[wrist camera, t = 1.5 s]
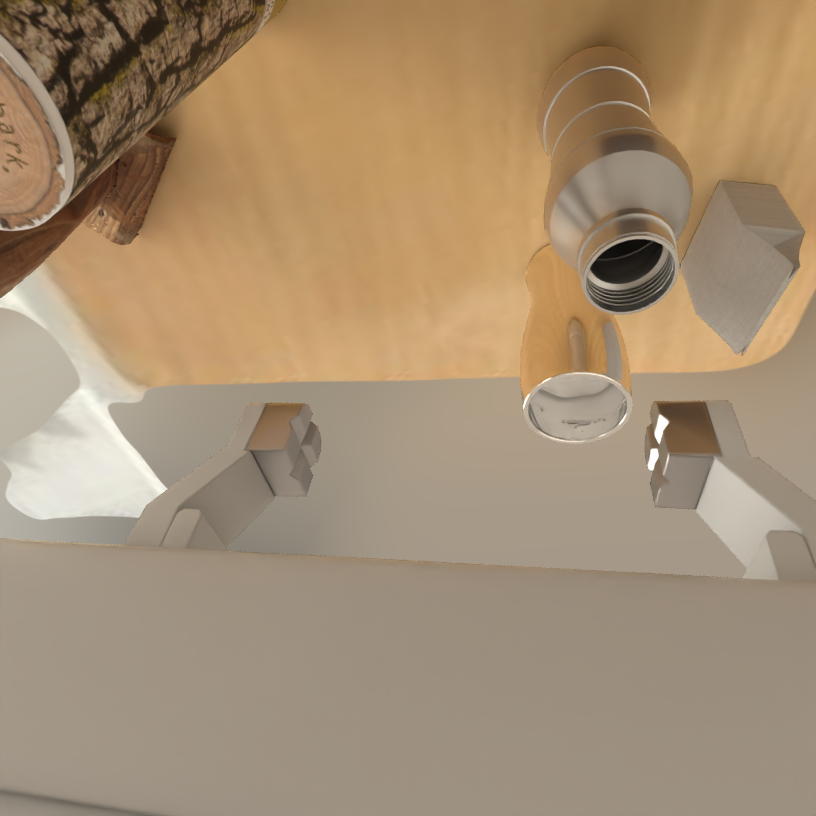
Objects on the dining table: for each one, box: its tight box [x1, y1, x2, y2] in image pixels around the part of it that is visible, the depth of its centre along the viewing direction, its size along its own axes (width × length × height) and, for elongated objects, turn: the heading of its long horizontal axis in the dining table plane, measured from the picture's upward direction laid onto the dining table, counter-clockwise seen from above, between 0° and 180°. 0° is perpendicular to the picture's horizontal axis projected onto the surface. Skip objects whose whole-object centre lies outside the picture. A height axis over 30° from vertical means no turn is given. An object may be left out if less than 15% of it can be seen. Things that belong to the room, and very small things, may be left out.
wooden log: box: [0, 0, 287, 231], centre depth 24 cm, size 7×7×25 cm
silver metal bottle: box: [537, 46, 693, 315], centre depth 29 cm, size 6×7×20 cm
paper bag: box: [680, 180, 805, 356], centre depth 37 cm, size 4×7×10 cm, turn 178°
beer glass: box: [520, 244, 633, 444], centre depth 40 cm, size 7×7×15 cm
